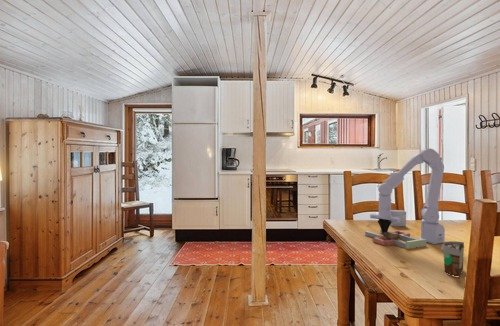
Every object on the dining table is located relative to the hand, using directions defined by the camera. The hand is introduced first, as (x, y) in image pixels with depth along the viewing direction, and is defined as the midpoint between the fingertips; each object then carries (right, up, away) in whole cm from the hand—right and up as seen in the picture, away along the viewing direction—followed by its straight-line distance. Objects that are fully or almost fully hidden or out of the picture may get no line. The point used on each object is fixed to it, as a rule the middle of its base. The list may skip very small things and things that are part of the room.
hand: (384, 234), depth 162 cm
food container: (+4, -3, -47) cm, 48 cm away
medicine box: (+18, -1, +26) cm, 32 cm away
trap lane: (+2, -2, -5) cm, 6 cm away
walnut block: (+2, -2, -3) cm, 4 cm away
